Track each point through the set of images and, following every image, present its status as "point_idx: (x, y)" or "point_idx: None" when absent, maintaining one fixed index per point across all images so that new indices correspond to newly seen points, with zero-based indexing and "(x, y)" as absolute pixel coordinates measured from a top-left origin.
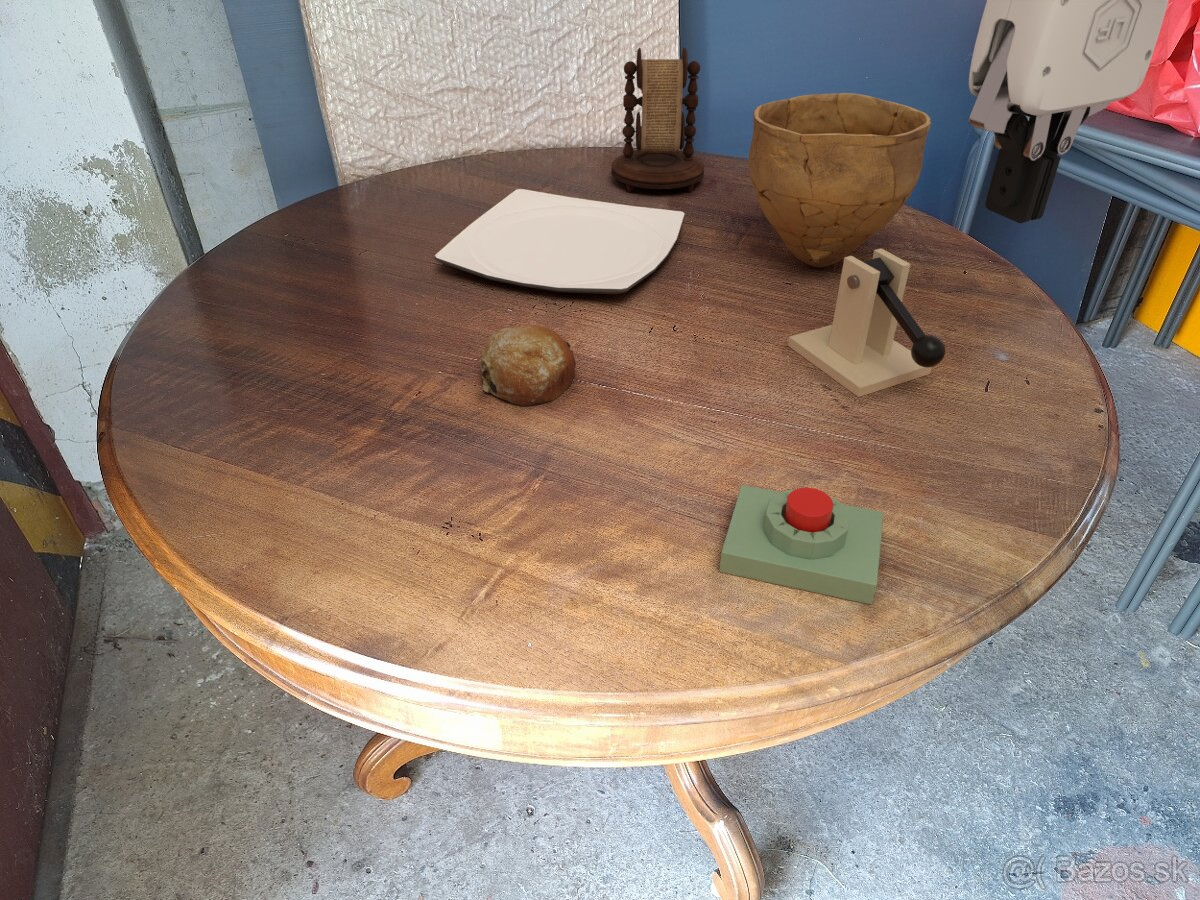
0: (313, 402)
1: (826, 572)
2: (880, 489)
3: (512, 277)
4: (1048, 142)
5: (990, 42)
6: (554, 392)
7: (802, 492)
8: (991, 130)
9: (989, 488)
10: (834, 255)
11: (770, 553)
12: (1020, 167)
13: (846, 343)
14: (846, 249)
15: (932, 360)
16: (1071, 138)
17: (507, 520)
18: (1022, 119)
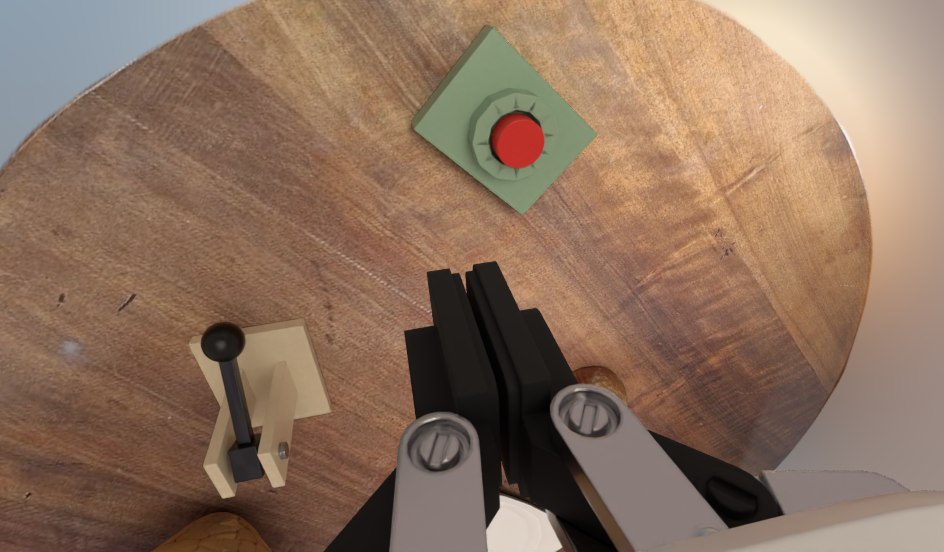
0: (723, 396)
1: (528, 67)
2: (368, 179)
3: (528, 512)
4: (491, 462)
5: None
6: (580, 374)
7: (519, 160)
8: (843, 474)
9: (238, 139)
10: (215, 520)
11: (559, 115)
12: (576, 382)
13: (288, 386)
14: (200, 526)
15: (227, 325)
16: (417, 466)
17: (690, 244)
18: (745, 522)
